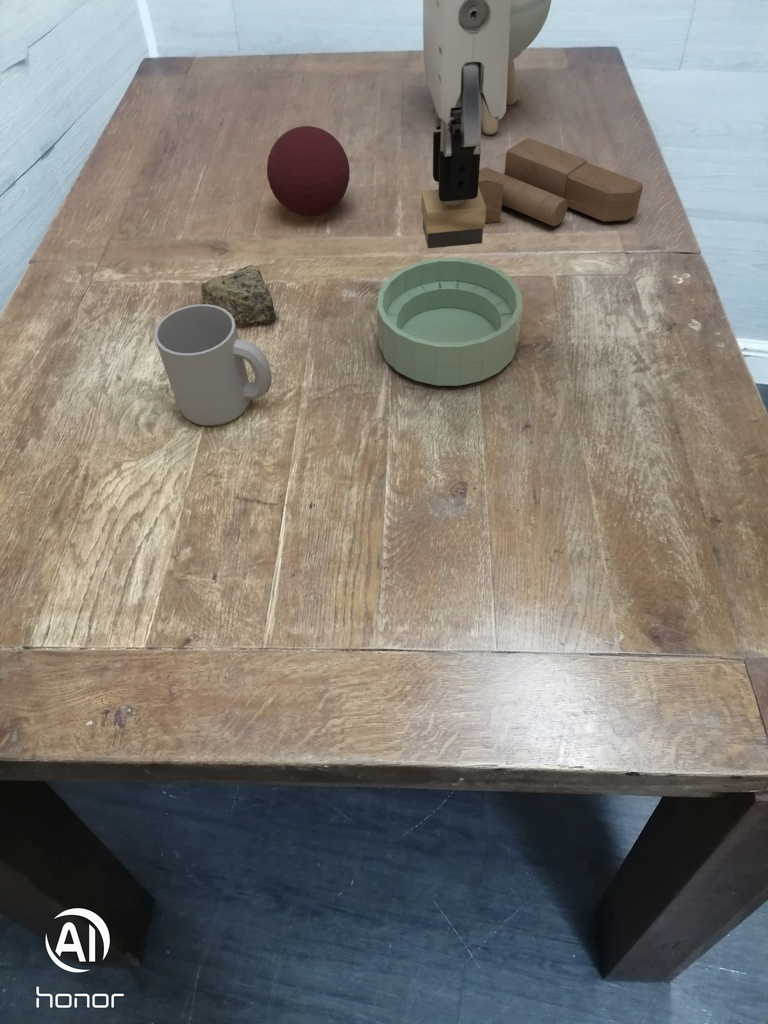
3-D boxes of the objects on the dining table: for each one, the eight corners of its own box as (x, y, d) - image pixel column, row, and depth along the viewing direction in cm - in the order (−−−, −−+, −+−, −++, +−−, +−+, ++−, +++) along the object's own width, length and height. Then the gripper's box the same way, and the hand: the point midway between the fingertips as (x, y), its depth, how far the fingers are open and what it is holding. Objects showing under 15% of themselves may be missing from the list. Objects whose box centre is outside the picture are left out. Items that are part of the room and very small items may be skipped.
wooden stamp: (476, 222, 69) (483, 108, 61) (483, 244, 67) (492, 128, 59) (421, 227, 69) (421, 113, 61) (426, 249, 67) (427, 134, 59)
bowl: (543, 334, 80) (549, 289, 76) (464, 410, 74) (466, 366, 69) (433, 286, 86) (434, 242, 82) (351, 353, 79) (347, 309, 75)
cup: (193, 373, 78) (171, 301, 71) (287, 383, 77) (274, 310, 70) (168, 423, 74) (141, 351, 67) (267, 435, 73) (251, 362, 66)
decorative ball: (363, 221, 95) (357, 140, 87) (285, 239, 93) (272, 158, 85) (338, 183, 101) (331, 104, 93) (265, 199, 99) (251, 120, 91)
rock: (213, 338, 82) (203, 303, 78) (201, 296, 86) (191, 261, 83) (278, 323, 83) (272, 288, 79) (263, 283, 88) (256, 248, 84)
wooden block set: (522, 126, 97) (648, 171, 89) (518, 169, 101) (637, 217, 93) (434, 179, 89) (563, 234, 81) (434, 224, 94) (556, 280, 86)
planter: (406, 106, 114) (404, -79, 96) (501, 82, 117) (515, -100, 100) (458, 153, 104) (466, -42, 87) (559, 125, 108) (586, -67, 91)
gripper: (551, -43, 45) (519, 237, 60) (496, -117, 55) (480, 139, 70) (425, -32, 45) (424, 246, 59) (393, -109, 55) (398, 146, 69)
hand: (454, 186), depth 64 cm, fingers closed on wooden stamp, 2 cm apart
